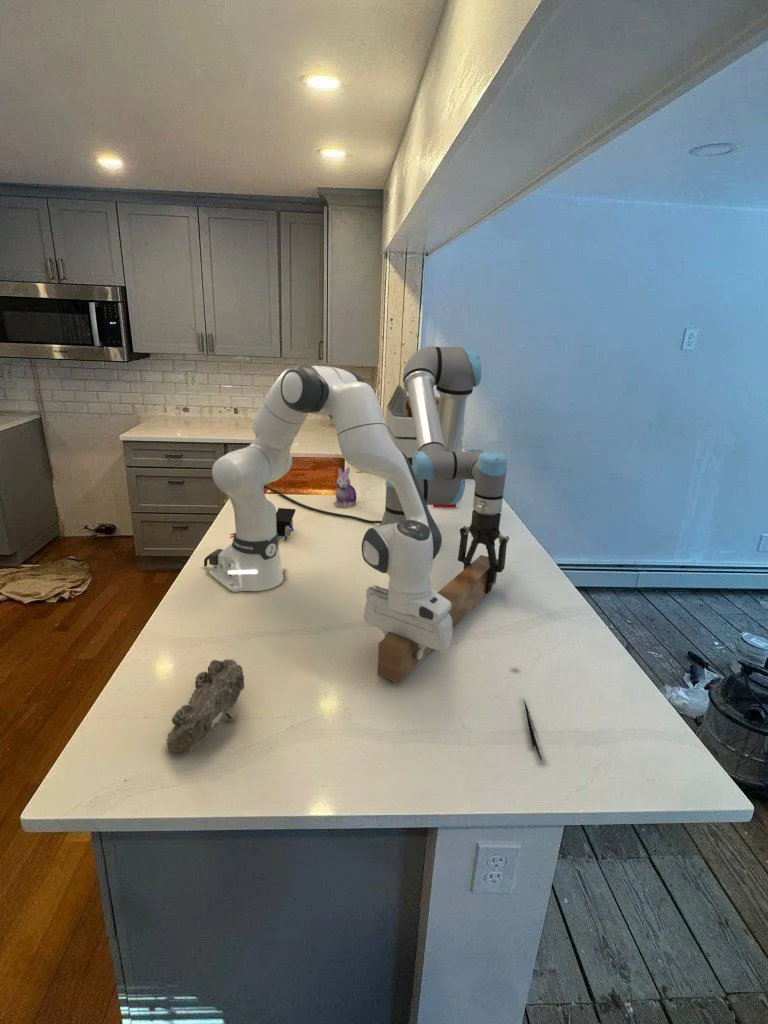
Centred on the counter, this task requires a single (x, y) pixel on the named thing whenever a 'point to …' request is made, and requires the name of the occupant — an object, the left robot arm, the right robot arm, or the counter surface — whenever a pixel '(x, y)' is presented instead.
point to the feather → (532, 731)
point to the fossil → (206, 705)
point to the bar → (463, 597)
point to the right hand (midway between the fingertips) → (477, 588)
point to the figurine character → (284, 522)
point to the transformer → (404, 423)
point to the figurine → (345, 490)
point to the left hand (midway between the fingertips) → (404, 652)
